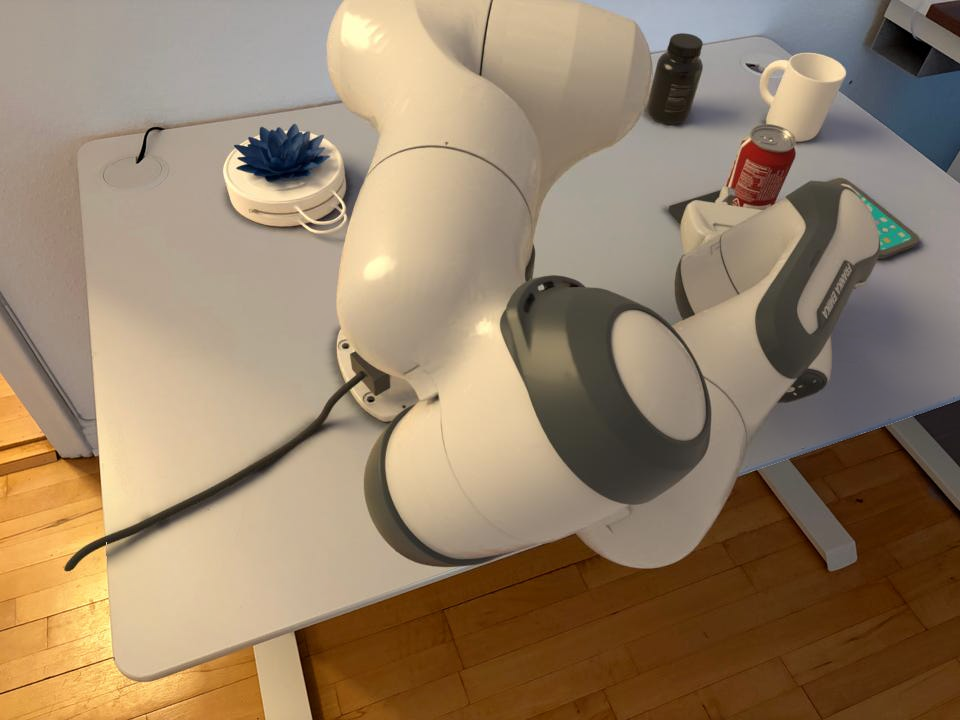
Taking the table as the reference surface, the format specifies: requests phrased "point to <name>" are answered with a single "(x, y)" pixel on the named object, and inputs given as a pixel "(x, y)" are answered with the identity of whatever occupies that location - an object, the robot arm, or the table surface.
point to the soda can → (762, 166)
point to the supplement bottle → (676, 80)
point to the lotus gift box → (286, 178)
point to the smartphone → (885, 225)
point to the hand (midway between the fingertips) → (765, 196)
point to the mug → (802, 93)
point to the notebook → (679, 208)
